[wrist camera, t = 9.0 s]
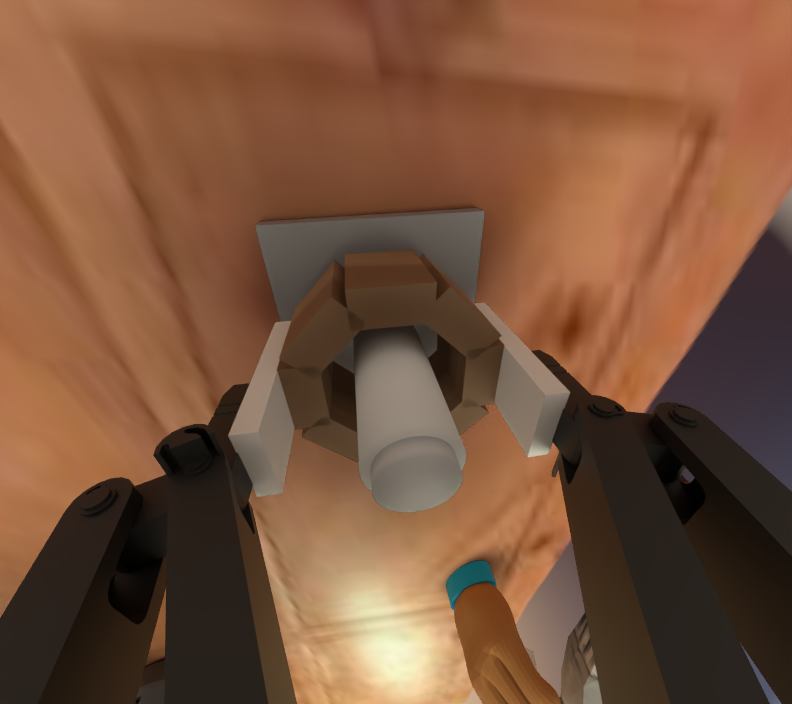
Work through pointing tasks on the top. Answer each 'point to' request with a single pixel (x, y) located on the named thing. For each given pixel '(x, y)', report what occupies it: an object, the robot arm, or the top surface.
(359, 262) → the ring
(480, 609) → the orange glove
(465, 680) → the top surface
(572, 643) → the toy
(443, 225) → the wall coat peg
